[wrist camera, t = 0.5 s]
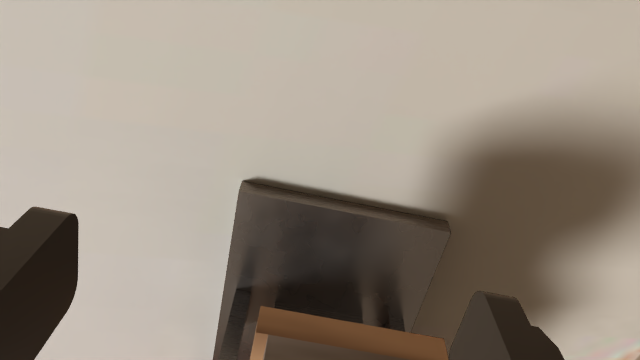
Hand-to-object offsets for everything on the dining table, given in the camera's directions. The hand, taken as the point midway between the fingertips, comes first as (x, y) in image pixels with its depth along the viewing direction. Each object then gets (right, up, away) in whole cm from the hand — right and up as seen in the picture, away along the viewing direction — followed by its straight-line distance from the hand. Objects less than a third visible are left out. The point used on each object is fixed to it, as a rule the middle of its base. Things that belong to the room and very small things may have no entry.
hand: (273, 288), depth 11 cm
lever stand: (+1, -7, +27) cm, 27 cm away
